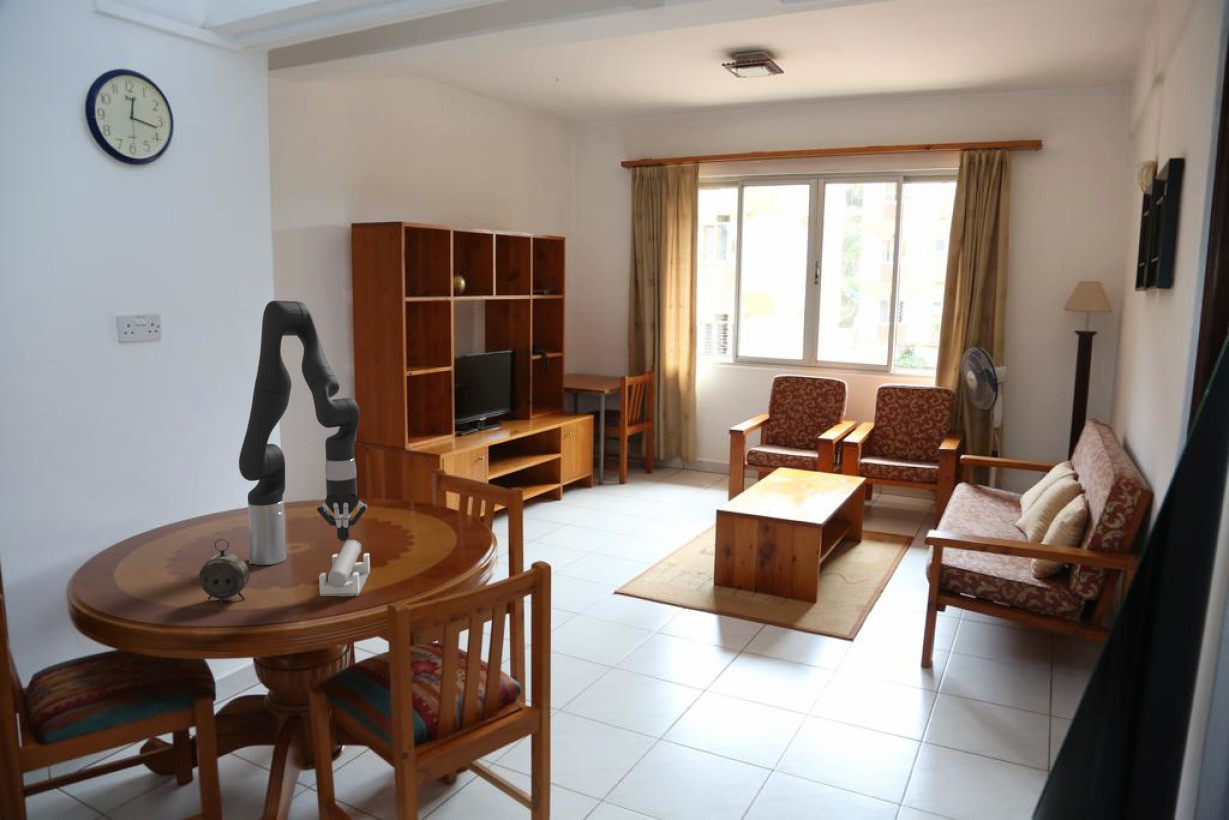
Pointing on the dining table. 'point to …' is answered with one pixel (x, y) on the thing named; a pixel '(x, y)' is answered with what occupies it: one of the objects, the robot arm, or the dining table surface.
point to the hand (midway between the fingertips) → (344, 540)
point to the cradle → (353, 582)
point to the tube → (344, 563)
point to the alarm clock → (224, 575)
